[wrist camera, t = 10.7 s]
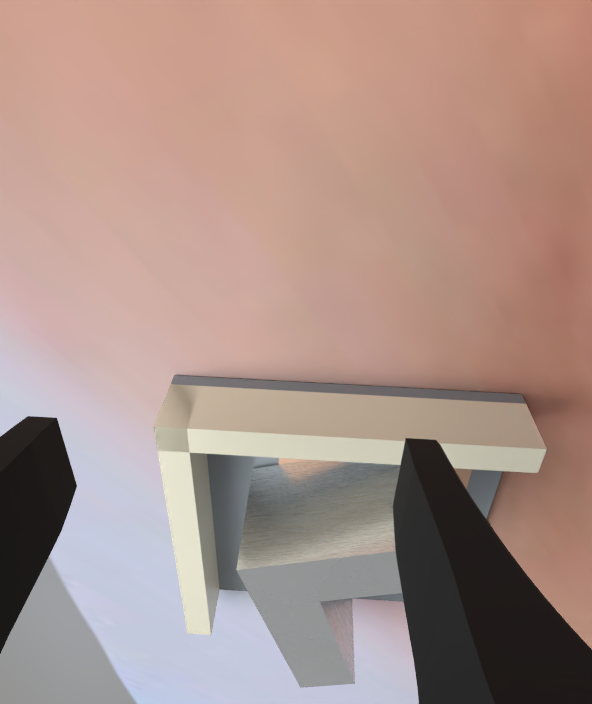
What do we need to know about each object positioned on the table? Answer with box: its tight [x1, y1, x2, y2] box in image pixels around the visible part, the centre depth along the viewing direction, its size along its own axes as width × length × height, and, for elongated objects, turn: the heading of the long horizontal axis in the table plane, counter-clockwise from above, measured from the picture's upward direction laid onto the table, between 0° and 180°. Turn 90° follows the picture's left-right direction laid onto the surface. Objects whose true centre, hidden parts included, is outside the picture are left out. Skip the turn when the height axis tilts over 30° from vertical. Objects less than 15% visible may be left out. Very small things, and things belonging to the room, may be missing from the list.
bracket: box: [236, 460, 402, 687], centre depth 24 cm, size 9×8×5 cm
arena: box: [154, 375, 547, 635], centre depth 25 cm, size 14×14×3 cm
